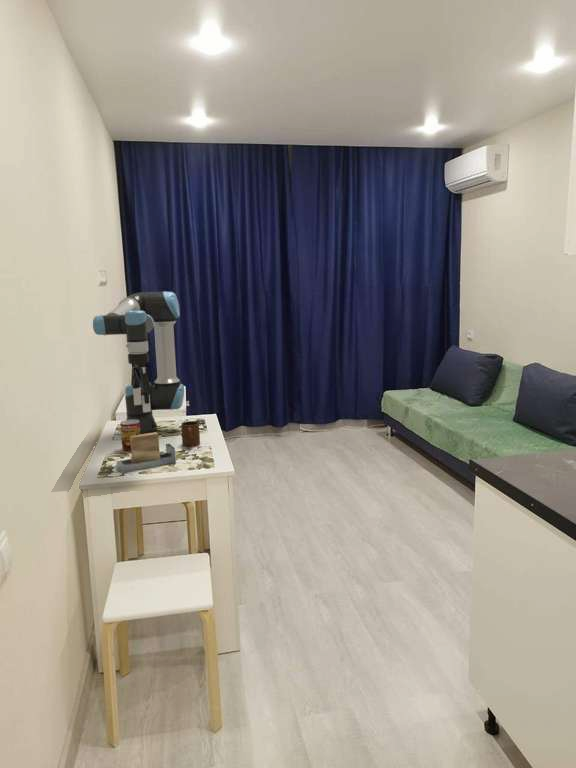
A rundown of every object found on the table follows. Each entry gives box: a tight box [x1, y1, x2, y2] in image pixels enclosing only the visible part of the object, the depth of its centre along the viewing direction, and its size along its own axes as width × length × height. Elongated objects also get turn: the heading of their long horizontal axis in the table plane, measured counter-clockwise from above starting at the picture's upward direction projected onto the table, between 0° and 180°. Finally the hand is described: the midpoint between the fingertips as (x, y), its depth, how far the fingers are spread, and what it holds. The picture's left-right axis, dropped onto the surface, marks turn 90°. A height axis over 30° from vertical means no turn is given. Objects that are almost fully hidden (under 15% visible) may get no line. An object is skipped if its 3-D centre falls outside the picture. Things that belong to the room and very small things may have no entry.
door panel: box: [130, 432, 161, 463], centre depth 218 cm, size 3×10×12 cm, turn 118°
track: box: [115, 443, 177, 473], centre depth 219 cm, size 7×21×6 cm, turn 118°
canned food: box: [119, 419, 141, 453], centre depth 239 cm, size 8×8×12 cm
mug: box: [180, 420, 201, 447], centre depth 242 cm, size 12×8×9 cm, turn 7°
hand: (142, 408), depth 215 cm, fingers open, 13 cm apart
